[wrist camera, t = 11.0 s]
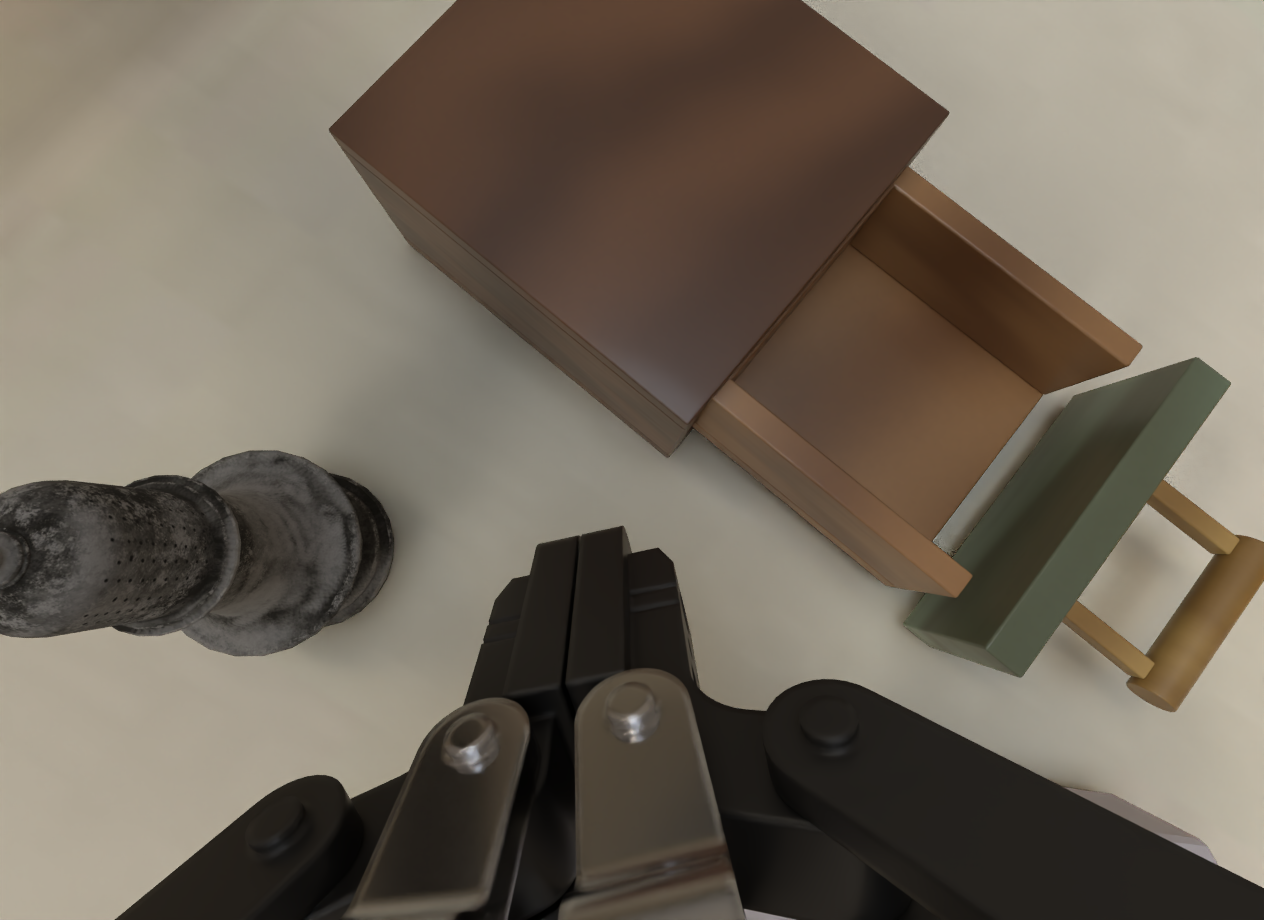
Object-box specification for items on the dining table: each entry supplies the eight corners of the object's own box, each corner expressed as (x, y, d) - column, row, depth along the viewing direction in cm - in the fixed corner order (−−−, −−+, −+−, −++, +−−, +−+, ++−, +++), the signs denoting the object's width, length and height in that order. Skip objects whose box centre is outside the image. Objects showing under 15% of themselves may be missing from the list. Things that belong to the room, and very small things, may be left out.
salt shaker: (437, 532, 21) (213, 523, 10) (325, 673, 21) (-67, 852, 9) (307, 431, 22) (-65, 300, 10) (192, 566, 21) (-356, 600, 9)
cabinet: (860, 228, 23) (951, 111, 17) (667, 458, 22) (687, 425, 16) (607, 32, 24) (604, -150, 18) (407, 243, 23) (326, 128, 16)
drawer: (1214, 504, 21) (1381, 495, 17) (1047, 744, 20) (1176, 805, 16) (844, 217, 22) (903, 132, 18) (665, 429, 21) (678, 398, 17)
